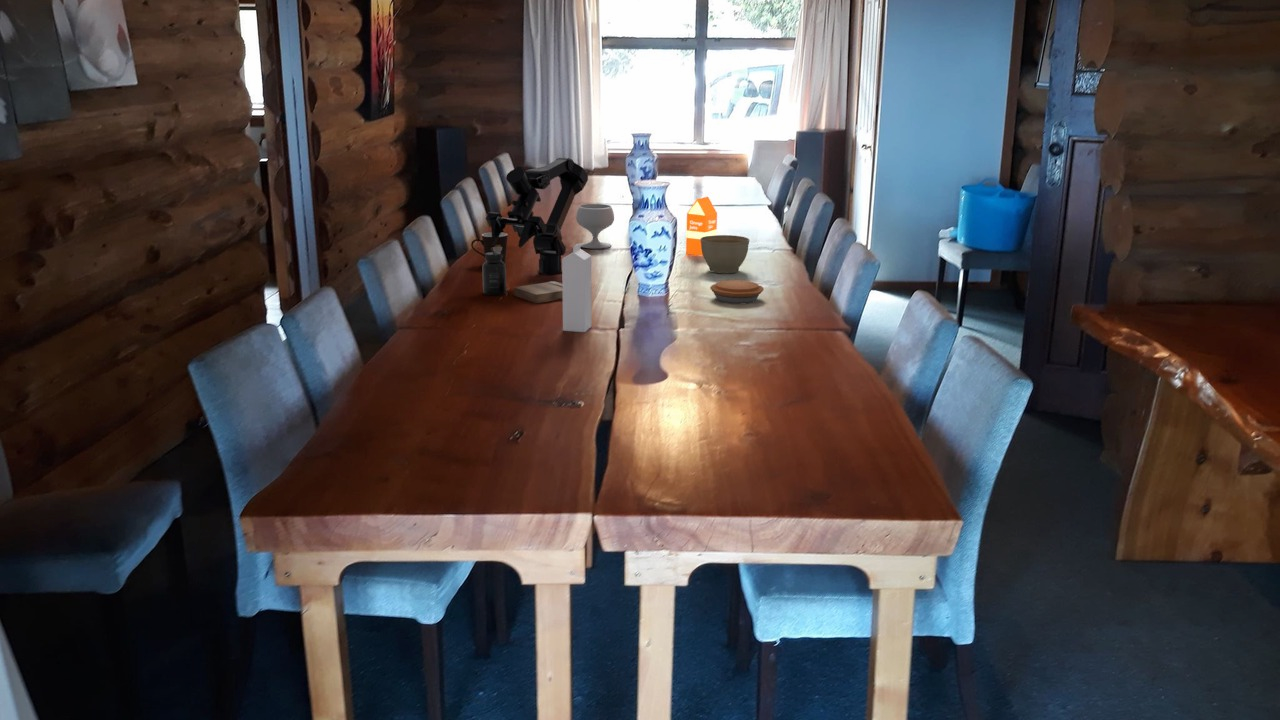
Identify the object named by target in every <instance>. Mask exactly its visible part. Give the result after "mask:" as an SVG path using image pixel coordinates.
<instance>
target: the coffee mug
mask: <svg viewBox="0 0 1280 720" xmlns="http://www.w3.org/2000/svg"><path fill="white" fill-rule="evenodd" d="M481 237H482V238H481V239H482V240H481V239H480V238H476V239H475V238H474V239H473V240H472V241H471V244H470V245H471V248H472V250H473V251H474V252H476V253H477V254H478V255H481V256H482V257H484V258H485V254H486V253H489V252H499V253H501V254H502V260H501V261H502V262H503V263H504V264H505V265H506V260H507V259H506V256H507V249H508V248H507V247H508V246H507V245H508V237H509V235H508V233H505V232H502V233H500V235H499V237H498V240H497V242H496V243H495V245H493V244H492V232H484V233H482V234H481ZM477 241H478V242H480V243H481V245H482V247H483V251H484V253H481V252H480V251H478V250H477V249H476V248H474V243H475V242H477Z"/></svg>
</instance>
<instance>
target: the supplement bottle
mask: <svg viewBox="0 0 1280 720" xmlns="http://www.w3.org/2000/svg"><path fill="white" fill-rule="evenodd" d="M484 255H485V257H484V260H485V262H484V263H483V264H482V266H481V268H482V269H481V270H482V289H483V290H482V292H483V294H484V295H487V296H503V295H505V294H506V293H507V273H506V268H507V267H506V263H505V264H504V263H503V262H502V261H501V260H502V254H501V253H499V252H489V253H486V254H485V253H484Z"/></svg>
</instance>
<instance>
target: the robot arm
mask: <svg viewBox="0 0 1280 720" xmlns="http://www.w3.org/2000/svg"><path fill="white" fill-rule="evenodd" d="M557 177H558V178H559V182H560V187H561V189H560V190H559V194H558V196H557V199H556V200H555V203H554V205H553V208H552V210H551V212H550V214H549V216H548V219H547V222H545V221H544V220H543V218H542V217H541V216H540V215H534V211H533V209H534V207H535V206H536V202H539V203H541V202H542V201H541V200H542V199H541V196H540V193H539V192H538V190H546V189H547V188H548V187H549V186H550V185H551V181H552V180H554V179H555V178H557ZM505 179H506V181H507V183H508V185H509V186H510V188H511V189H512V191H513V193H514V194H516V195H517V196H516V200H512V202H511V204H512V209H511V210H510V211H509V210H508V211H507V213H506V215H507V216H508V217H503V215H502V214H501V213H500V212H492V211H490V212H487V214H486V215H485V216H486V217H485V220H486V221H487V223H488V225H489V226H490V227H491V228H490V229H491V233H492V244H493V245H495V243H496V242H497V240H498V237H499V235H500V233H505V232H504V229H506V226H512V229H513V232H514V233H517V236H518V237H519V241H518V245H517V246H518V247H519V248H520V249H521V248H522V247H523V246H524V245H525V244H527V242H528V241H530V239H532V238H533V241H532V243H533V246H534V247H533V248H534V252H535V254H536V255H539V258H538V270H537V273H540V274H544V275H545V276H546V275H547V276H549V275H550V276H551V275H558V274H562V256H564V255H565V254H566V250H567V247H566V245H565V243H564V242H563V237H562V232H561V229H562V228H563V225H564V223H565V220H566V217H567V215H568V213H569V210H570V209H571V206H572V204H573V201H574V200H575V199H574V198H575V197H576V195H578V194H579V193H581V192H582V191H583V190H584V187H586V184H587V183H588V180H589V175H588V173H587V172H586V170H585V169H584V168H583V167H582V166H581V165H579V164H578V163H576V162H574V159H571V158H570V157H558V158H556V159H555V160H554V161H552V162H550V163H548V164H546V165H543V166H542V167H539V168H531V169H527V170H525V168H524V166H523V165H517V166H516V168H513V169H512V170H510V171H509V172H508V173H507V174H506V177H505Z"/></svg>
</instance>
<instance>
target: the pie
mask: <svg viewBox="0 0 1280 720" xmlns="http://www.w3.org/2000/svg"><path fill="white" fill-rule="evenodd" d="M709 289H710V290H711V291H712V292H713V295H714V296H715V298H716V300H718V302H721V303H726V304H733V305H734V304H735V305H742V304H741V303H746V304H751V303H754V302H755V301H756V300H757V299H758V298H759V295H760V294H762V293H763V291H764V289H765V288H764V287H763V286H761V285H759V284H758V283H756V282H753V281H748V280H740V279H735V280H734V279H730V280H728V279H727V280H721V281H717V282H715V283H714V284H712V285H711V286H710V287H709ZM753 301H754V302H753ZM750 302H751V303H750Z"/></svg>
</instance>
